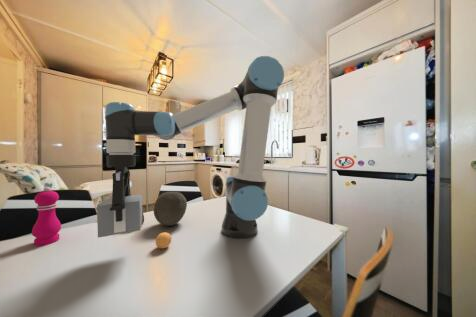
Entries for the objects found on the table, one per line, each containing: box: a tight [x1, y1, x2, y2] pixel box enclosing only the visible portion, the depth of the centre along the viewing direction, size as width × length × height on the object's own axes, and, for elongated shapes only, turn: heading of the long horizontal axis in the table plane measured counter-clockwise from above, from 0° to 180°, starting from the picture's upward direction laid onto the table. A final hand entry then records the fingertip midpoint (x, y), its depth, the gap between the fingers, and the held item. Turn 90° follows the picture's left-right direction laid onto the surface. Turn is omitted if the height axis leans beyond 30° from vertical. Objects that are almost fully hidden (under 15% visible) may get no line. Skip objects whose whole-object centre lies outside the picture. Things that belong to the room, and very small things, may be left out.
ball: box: [155, 232, 172, 249], centre depth 60 cm, size 5×5×5 cm
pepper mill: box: [31, 186, 62, 247], centre depth 64 cm, size 7×7×20 cm
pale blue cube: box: [96, 194, 143, 238], centre depth 55 cm, size 10×10×9 cm
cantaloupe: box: [153, 191, 188, 227], centre depth 81 cm, size 14×14×15 cm
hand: (123, 225), depth 55 cm, fingers closed on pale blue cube, 10 cm apart
